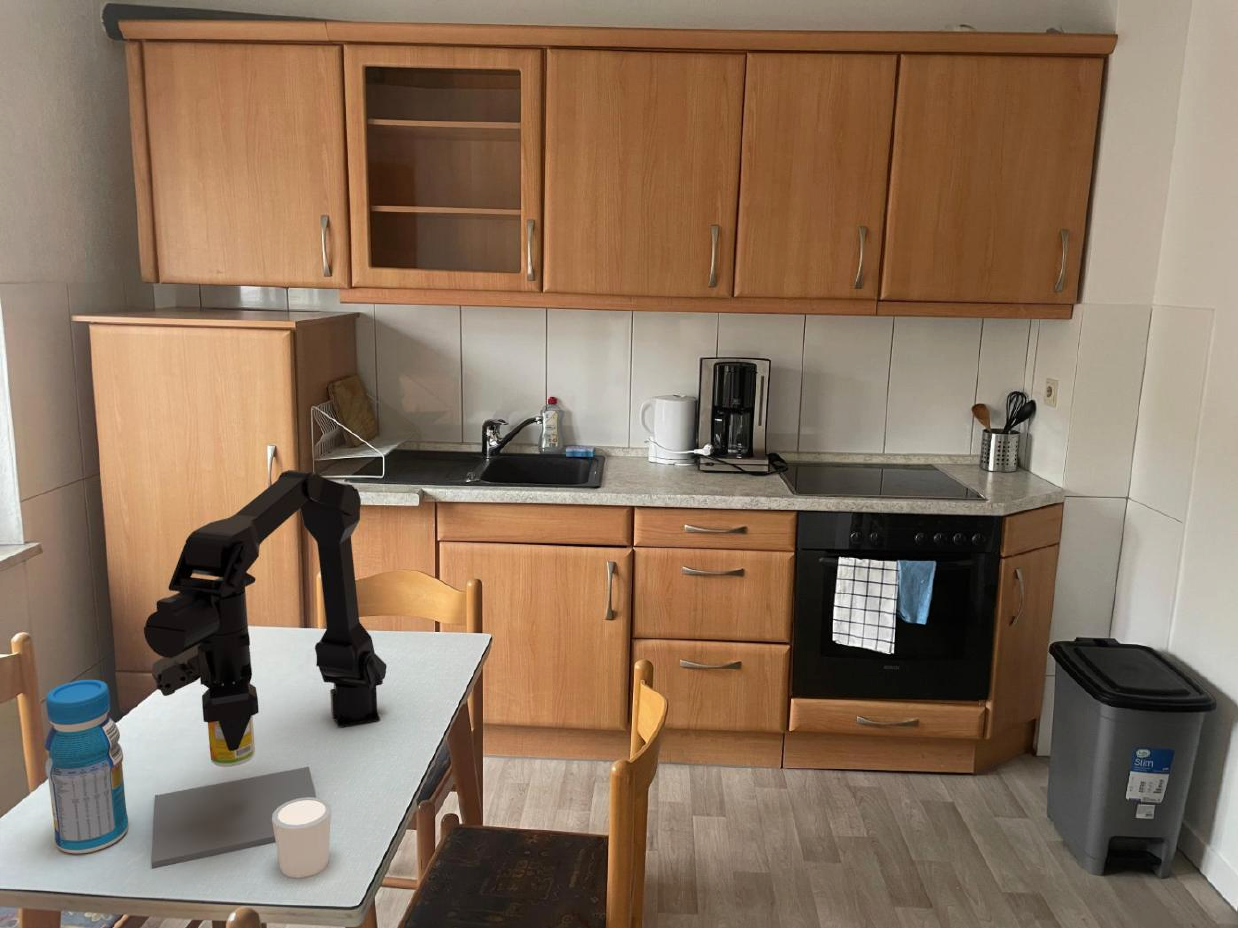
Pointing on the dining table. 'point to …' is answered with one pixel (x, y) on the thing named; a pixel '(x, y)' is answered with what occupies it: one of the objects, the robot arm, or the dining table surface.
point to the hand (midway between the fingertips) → (232, 739)
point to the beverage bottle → (84, 768)
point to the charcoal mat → (222, 815)
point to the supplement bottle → (220, 749)
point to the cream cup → (302, 836)
